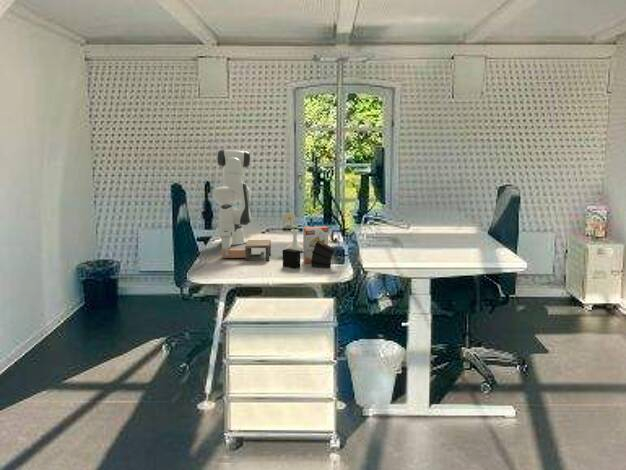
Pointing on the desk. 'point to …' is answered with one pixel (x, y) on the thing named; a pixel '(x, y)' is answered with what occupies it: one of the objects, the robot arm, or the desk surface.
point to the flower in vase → (294, 245)
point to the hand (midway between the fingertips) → (227, 253)
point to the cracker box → (313, 240)
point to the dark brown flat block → (322, 255)
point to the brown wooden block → (234, 253)
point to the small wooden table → (258, 244)
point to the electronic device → (291, 258)
